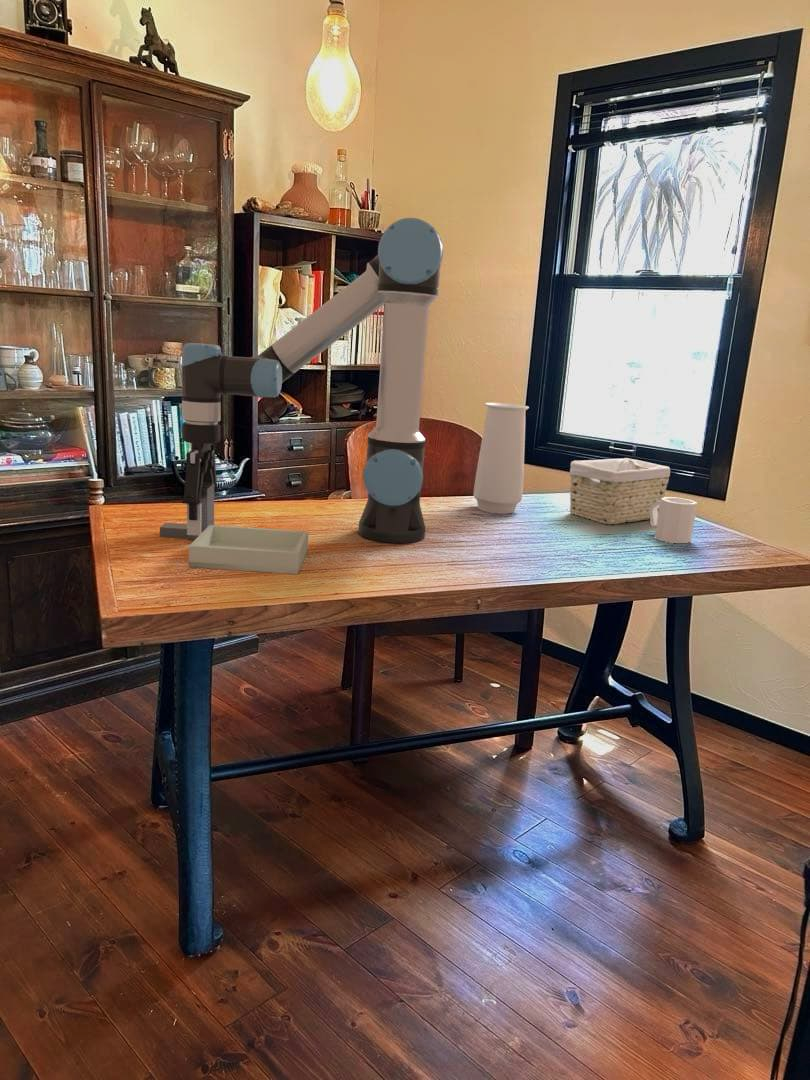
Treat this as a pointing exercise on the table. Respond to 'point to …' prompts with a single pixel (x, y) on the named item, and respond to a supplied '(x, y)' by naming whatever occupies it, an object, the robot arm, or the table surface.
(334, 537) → the table surface
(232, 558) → the tray
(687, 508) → the mug
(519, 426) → the vase
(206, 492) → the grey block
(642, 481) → the storage basket
